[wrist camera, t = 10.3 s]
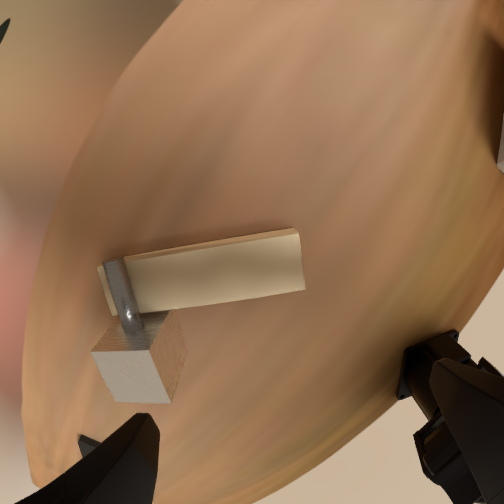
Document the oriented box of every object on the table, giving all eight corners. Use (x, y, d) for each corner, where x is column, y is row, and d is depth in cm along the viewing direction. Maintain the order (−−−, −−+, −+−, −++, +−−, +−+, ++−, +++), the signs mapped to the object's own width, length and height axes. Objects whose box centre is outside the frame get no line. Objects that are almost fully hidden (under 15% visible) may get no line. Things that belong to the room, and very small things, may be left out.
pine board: (299, 278, 19) (305, 289, 17) (122, 304, 19) (112, 315, 17) (293, 227, 18) (298, 233, 16) (109, 259, 18) (96, 267, 16)
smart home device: (136, 464, 23) (140, 509, 27) (140, 454, 24) (142, 502, 29) (75, 439, 22) (95, 492, 27) (80, 430, 24) (98, 486, 28)
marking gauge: (187, 350, 20) (171, 403, 14) (141, 353, 20) (115, 401, 14) (158, 242, 18) (122, 269, 12) (109, 251, 18) (62, 279, 12)
